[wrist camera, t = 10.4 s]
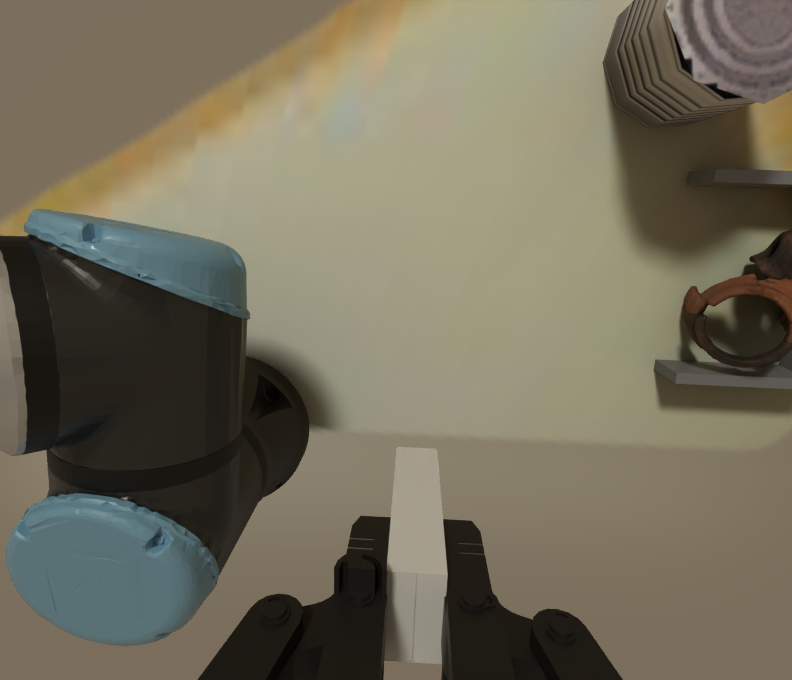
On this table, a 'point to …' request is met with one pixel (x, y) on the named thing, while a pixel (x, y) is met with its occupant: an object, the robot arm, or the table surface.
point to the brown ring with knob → (787, 286)
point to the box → (719, 374)
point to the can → (698, 58)
